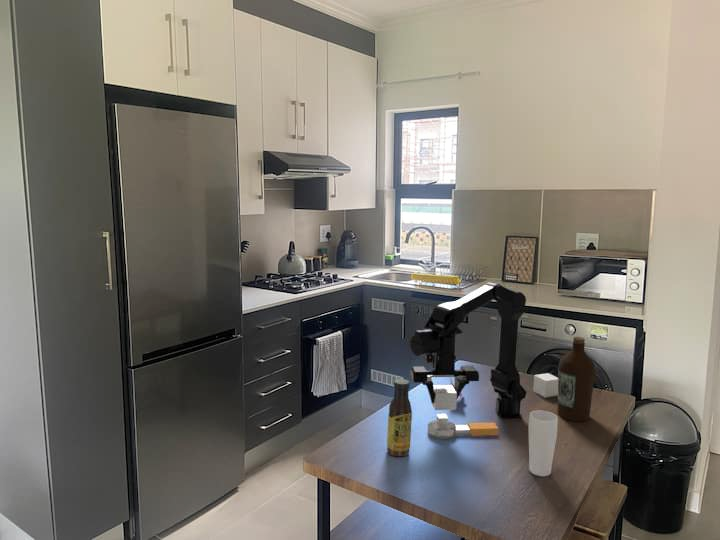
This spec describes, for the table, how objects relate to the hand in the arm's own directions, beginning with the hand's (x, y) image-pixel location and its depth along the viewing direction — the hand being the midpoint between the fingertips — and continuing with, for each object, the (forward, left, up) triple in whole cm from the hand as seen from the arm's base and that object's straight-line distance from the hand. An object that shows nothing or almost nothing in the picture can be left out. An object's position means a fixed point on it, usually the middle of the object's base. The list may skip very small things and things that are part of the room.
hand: (443, 402), depth 153 cm
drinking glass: (-20, +22, -10) cm, 31 cm away
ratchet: (-6, 0, -10) cm, 11 cm away
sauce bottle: (+14, +10, -10) cm, 20 cm away
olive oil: (-44, -10, -10) cm, 46 cm away
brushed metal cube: (0, 0, -1) cm, 1 cm away
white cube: (-43, -28, -10) cm, 52 cm away
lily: (-9, -22, -10) cm, 26 cm away
